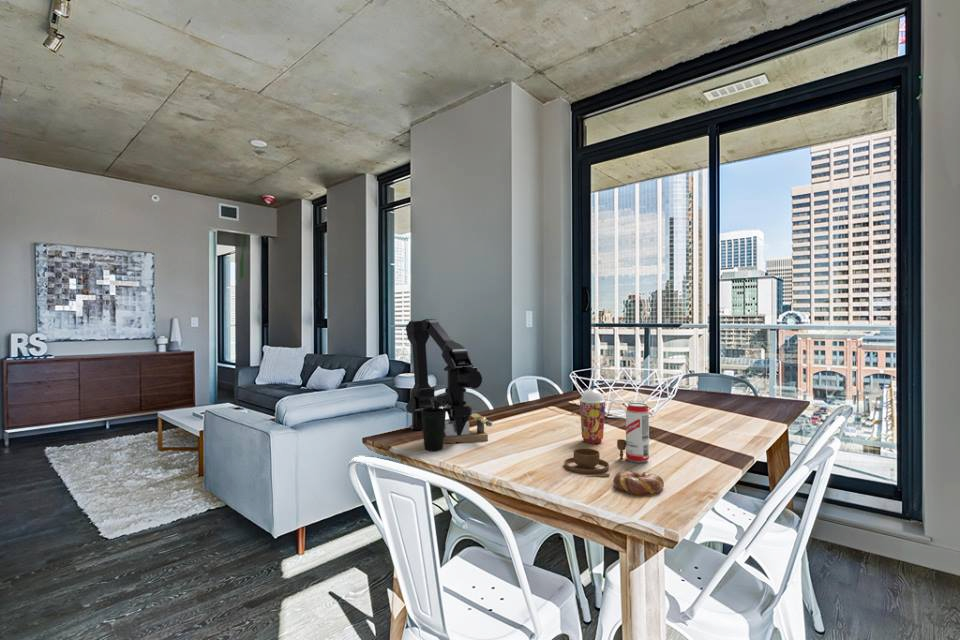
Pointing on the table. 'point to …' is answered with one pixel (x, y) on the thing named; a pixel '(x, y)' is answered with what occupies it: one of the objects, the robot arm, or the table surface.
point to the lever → (482, 419)
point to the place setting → (591, 460)
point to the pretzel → (638, 482)
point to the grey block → (454, 429)
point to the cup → (433, 428)
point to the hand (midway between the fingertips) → (455, 432)
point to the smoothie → (592, 415)
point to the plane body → (472, 437)
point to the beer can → (637, 432)
